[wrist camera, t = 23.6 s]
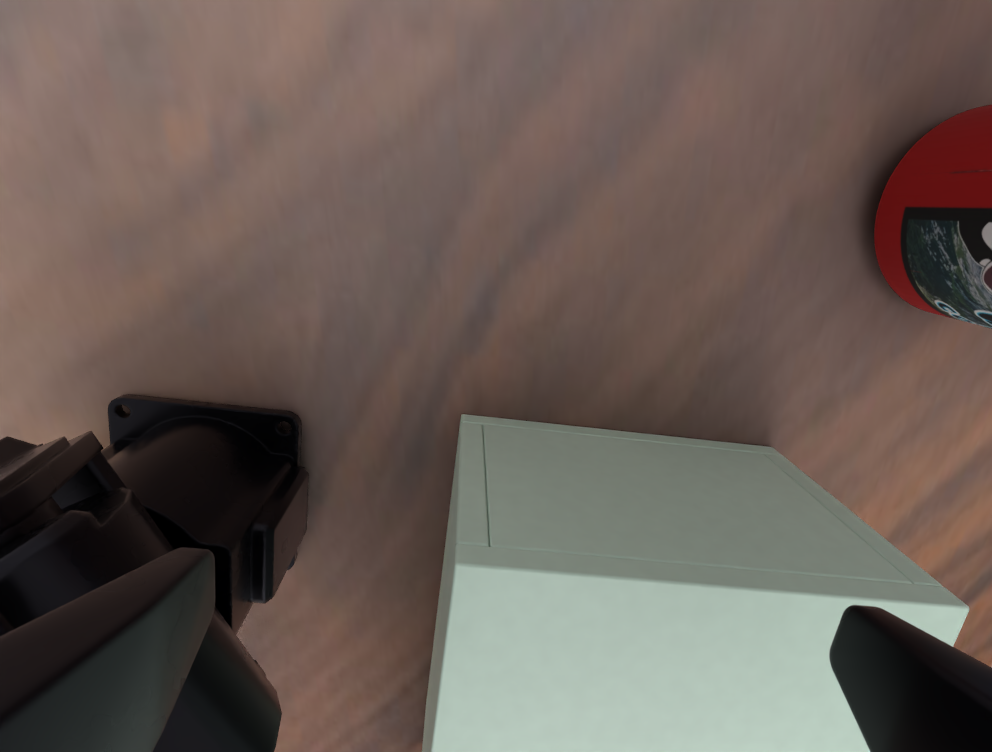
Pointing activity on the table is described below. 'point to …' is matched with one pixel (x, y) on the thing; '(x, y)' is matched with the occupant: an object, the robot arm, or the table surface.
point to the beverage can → (942, 220)
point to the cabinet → (651, 596)
